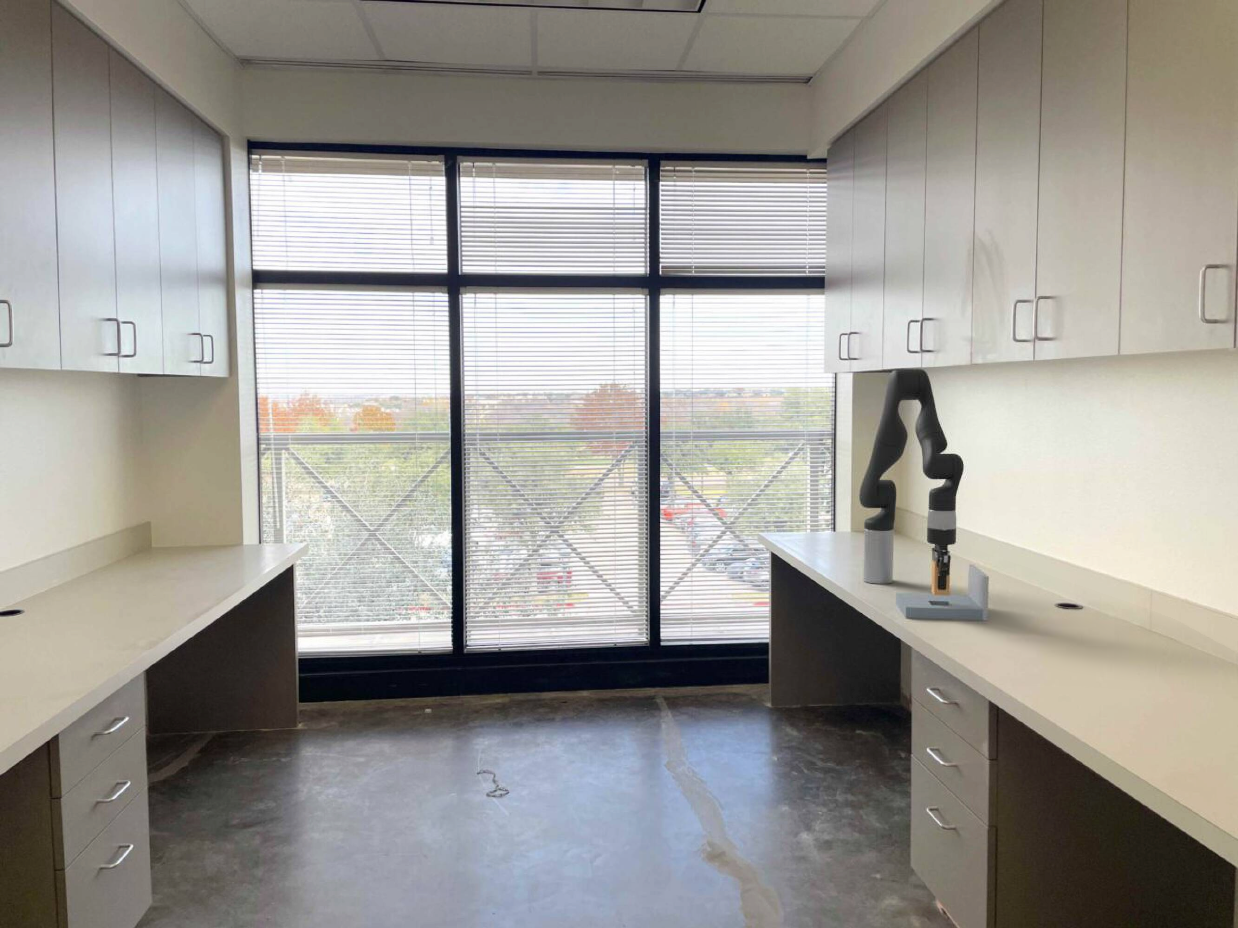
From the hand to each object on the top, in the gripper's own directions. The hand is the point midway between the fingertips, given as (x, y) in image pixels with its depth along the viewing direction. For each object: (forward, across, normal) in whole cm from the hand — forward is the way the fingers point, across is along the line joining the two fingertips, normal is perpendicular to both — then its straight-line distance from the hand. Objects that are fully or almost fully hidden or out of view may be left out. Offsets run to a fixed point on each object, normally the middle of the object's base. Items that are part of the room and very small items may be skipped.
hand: (940, 587), depth 253 cm
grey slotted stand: (+7, -3, 0) cm, 8 cm away
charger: (+2, 0, 0) cm, 2 cm away
